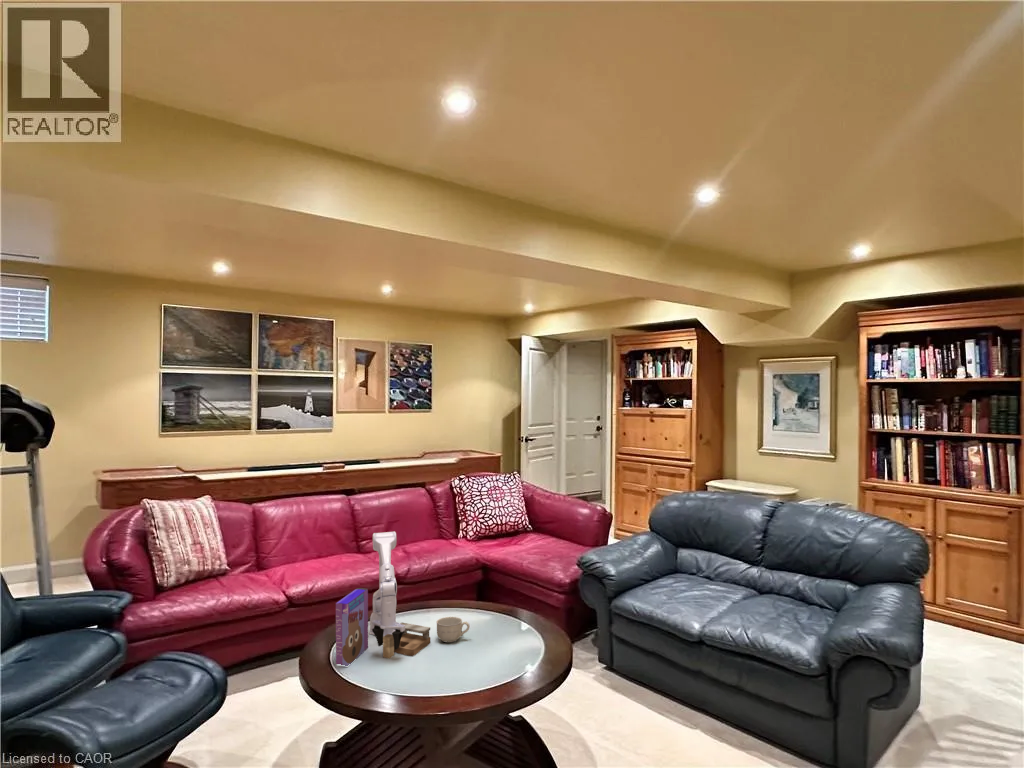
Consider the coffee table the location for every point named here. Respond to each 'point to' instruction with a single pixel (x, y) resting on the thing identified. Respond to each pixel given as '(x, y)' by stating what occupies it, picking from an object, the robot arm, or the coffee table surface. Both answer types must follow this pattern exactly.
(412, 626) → the socket block
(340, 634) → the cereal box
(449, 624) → the teacup
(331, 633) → the coffee table surface
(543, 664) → the coffee table surface
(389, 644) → the peg
